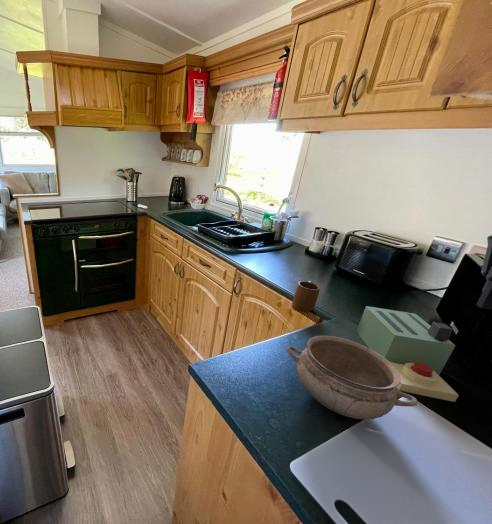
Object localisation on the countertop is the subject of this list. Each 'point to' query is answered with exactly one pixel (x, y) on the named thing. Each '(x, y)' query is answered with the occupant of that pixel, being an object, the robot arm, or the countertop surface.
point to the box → (424, 383)
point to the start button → (422, 369)
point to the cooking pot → (349, 377)
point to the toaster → (403, 338)
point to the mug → (306, 296)
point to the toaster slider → (440, 331)
